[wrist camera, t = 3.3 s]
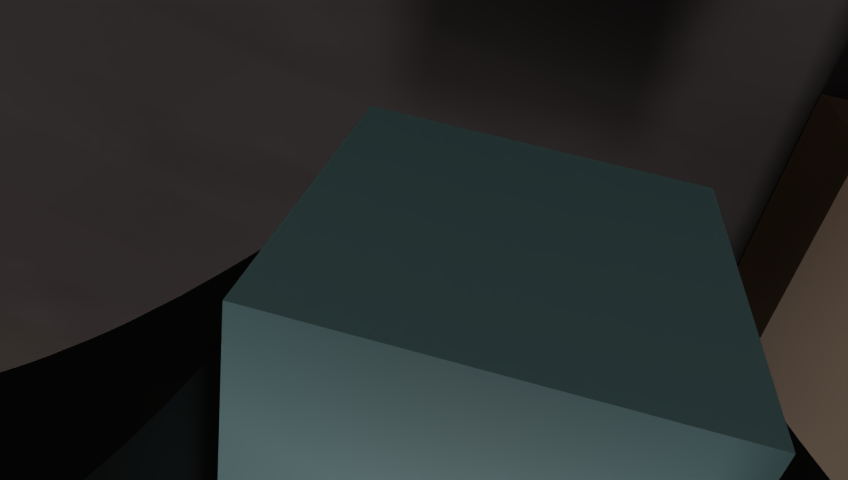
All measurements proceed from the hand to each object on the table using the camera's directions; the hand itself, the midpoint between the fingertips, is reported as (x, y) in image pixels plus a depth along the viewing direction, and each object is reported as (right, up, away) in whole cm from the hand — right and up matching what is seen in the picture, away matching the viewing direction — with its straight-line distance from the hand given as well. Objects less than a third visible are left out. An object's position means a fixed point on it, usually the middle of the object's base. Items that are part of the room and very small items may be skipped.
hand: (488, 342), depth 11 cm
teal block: (0, +1, +1) cm, 2 cm away
